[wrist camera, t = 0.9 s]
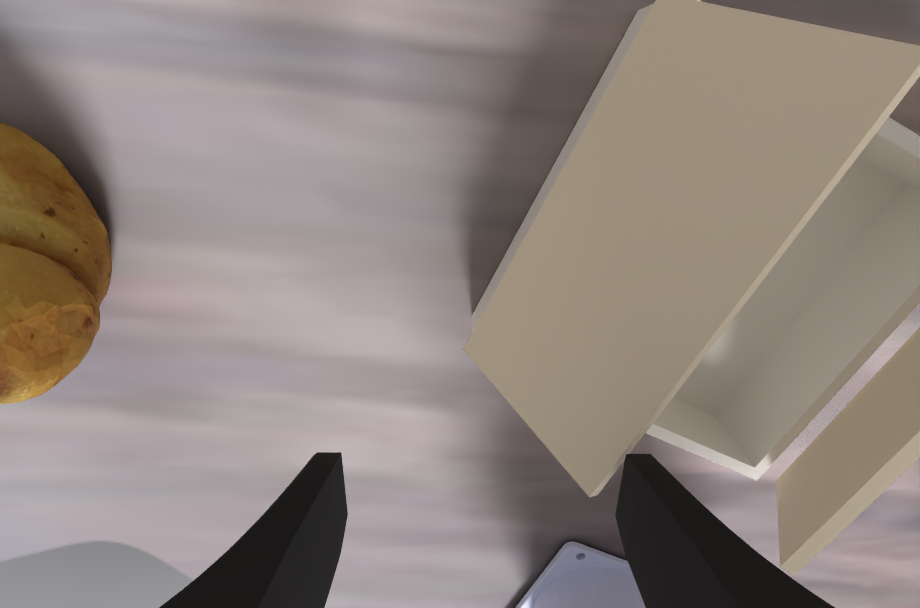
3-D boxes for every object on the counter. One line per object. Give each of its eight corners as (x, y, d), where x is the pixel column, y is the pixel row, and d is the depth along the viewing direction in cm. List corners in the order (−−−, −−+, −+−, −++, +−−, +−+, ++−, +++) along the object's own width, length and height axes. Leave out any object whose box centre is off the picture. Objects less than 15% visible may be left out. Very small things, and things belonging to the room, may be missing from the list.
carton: (914, 175, 20) (1017, 196, 16) (712, 421, 25) (756, 480, 21) (637, 10, 18) (684, -10, 14) (471, 315, 22) (474, 360, 19)
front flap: (471, 349, 18) (462, 349, 18) (666, 0, 14) (659, -7, 14) (597, 495, 14) (589, 497, 14) (934, 57, 10) (932, 48, 9)
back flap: (1022, 217, 16) (1037, 223, 16) (776, 480, 21) (786, 487, 20) (1154, 202, 11) (1177, 211, 11) (780, 566, 15) (794, 577, 15)
